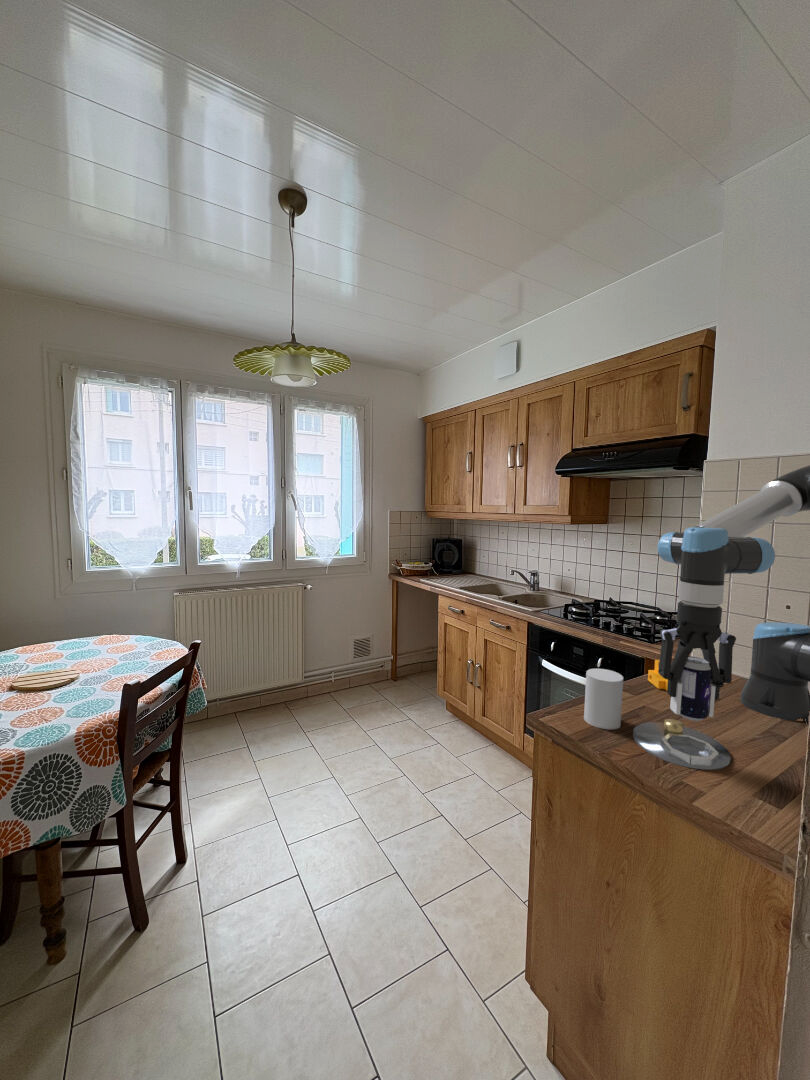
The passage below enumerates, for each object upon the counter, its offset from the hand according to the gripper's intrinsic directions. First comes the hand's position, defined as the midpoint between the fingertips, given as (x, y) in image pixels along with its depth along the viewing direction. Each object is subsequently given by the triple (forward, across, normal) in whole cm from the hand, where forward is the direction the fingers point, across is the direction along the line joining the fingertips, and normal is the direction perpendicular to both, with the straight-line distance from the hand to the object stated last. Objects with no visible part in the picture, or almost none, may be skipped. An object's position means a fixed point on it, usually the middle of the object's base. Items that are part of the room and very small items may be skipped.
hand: (691, 712), depth 91 cm
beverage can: (+1, 0, 0) cm, 1 cm away
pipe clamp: (+10, -12, -38) cm, 41 cm away
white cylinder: (+10, +13, -13) cm, 21 cm away
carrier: (+10, 0, -4) cm, 11 cm away
